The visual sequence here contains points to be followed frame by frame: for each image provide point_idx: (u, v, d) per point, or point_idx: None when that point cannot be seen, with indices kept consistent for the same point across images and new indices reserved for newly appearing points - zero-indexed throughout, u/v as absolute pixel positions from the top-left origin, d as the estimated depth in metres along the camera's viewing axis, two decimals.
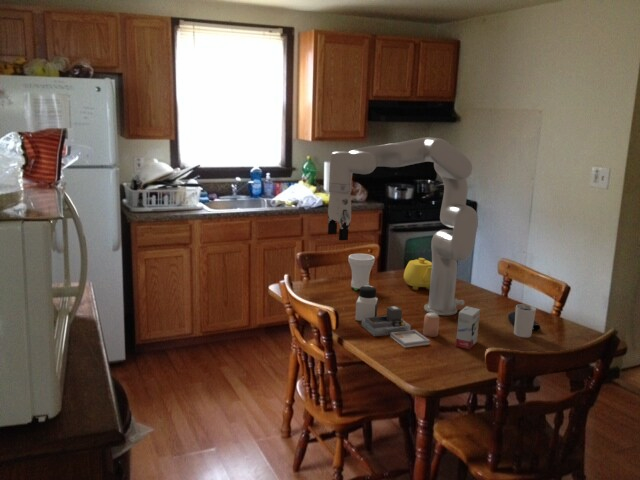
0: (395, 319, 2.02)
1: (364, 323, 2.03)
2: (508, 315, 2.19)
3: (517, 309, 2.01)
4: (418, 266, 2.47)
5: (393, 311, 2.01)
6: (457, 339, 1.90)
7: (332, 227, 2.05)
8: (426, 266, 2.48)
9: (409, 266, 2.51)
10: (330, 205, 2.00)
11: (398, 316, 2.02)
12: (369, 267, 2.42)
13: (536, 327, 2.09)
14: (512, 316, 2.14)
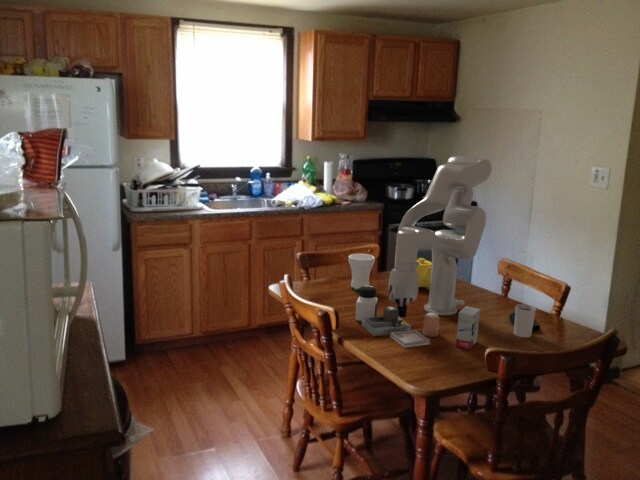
0: (392, 319, 2.01)
1: (364, 323, 2.03)
2: (509, 315, 2.19)
3: (517, 309, 2.01)
4: (418, 266, 2.47)
5: (390, 311, 2.00)
6: (457, 339, 1.90)
7: None
8: (426, 266, 2.48)
9: None
10: (402, 285, 1.99)
11: (394, 316, 2.02)
12: (369, 267, 2.42)
13: (536, 327, 2.09)
14: (513, 316, 2.15)
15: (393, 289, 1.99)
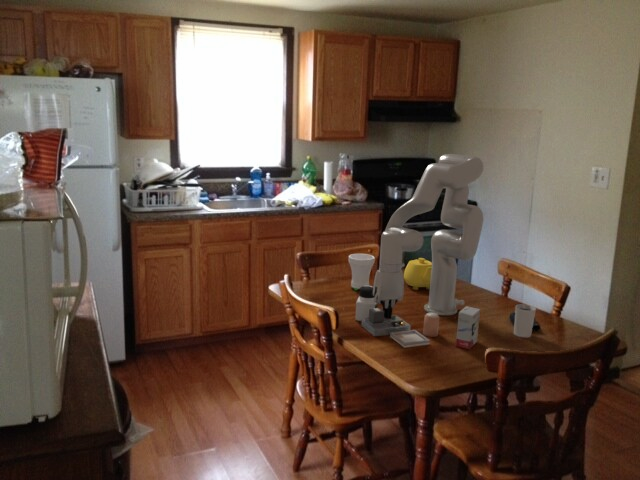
0: (377, 321, 1.99)
1: (364, 323, 2.03)
2: (510, 314, 2.19)
3: (517, 309, 2.01)
4: (418, 266, 2.47)
5: (375, 313, 1.98)
6: (457, 339, 1.90)
7: None
8: (426, 266, 2.48)
9: (409, 266, 2.51)
10: (387, 287, 1.97)
11: (380, 318, 1.99)
12: (369, 267, 2.42)
13: (536, 327, 2.09)
14: (513, 316, 2.14)
15: (378, 291, 1.97)
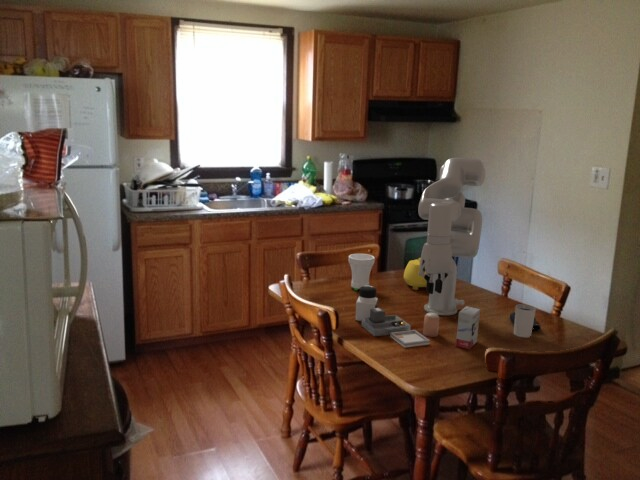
0: (378, 321, 1.99)
1: (364, 323, 2.03)
2: (510, 315, 2.19)
3: (517, 309, 2.01)
4: (418, 266, 2.47)
5: (376, 313, 1.98)
6: (457, 339, 1.90)
7: None
8: None
9: (409, 266, 2.51)
10: (435, 260, 1.91)
11: (381, 318, 2.00)
12: (369, 267, 2.42)
13: (537, 327, 2.09)
14: (513, 316, 2.15)
15: (426, 264, 1.92)
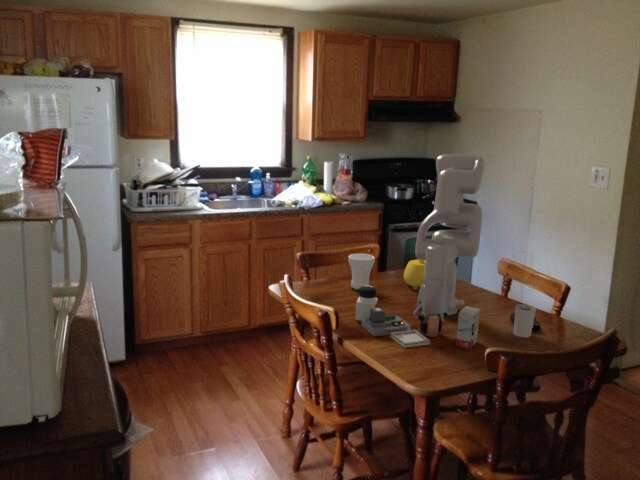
0: (378, 321, 1.99)
1: (364, 323, 2.03)
2: (510, 315, 2.19)
3: (517, 309, 2.01)
4: (418, 266, 2.47)
5: (376, 313, 1.98)
6: (457, 339, 1.90)
7: None
8: None
9: (409, 266, 2.51)
10: (432, 301, 1.95)
11: (381, 318, 2.00)
12: (369, 267, 2.42)
13: (537, 327, 2.09)
14: (513, 316, 2.15)
15: (423, 305, 1.95)
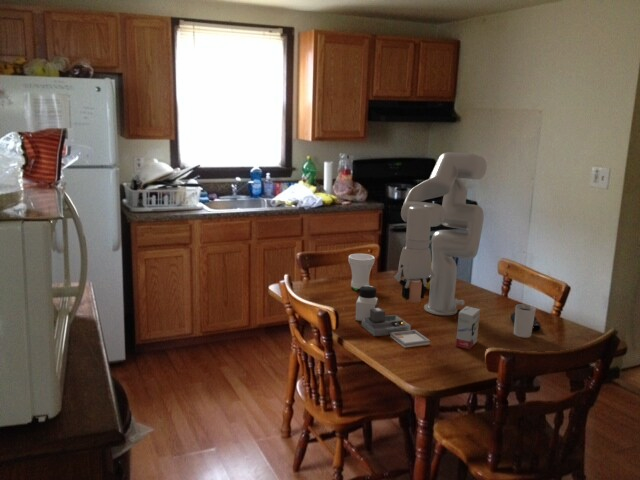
0: (378, 321, 1.99)
1: (364, 323, 2.03)
2: (511, 315, 2.19)
3: (517, 309, 2.01)
4: None
5: (376, 313, 1.98)
6: (457, 339, 1.90)
7: None
8: None
9: None
10: (414, 265, 1.85)
11: (381, 318, 2.00)
12: (369, 267, 2.42)
13: (537, 327, 2.09)
14: (514, 316, 2.15)
15: (404, 269, 1.85)
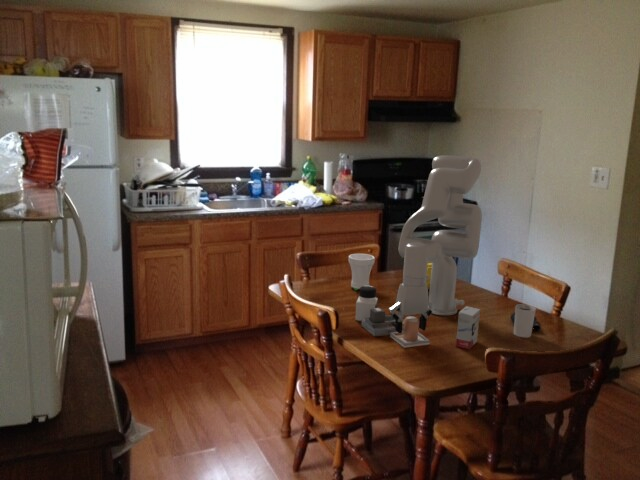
0: (378, 321, 1.99)
1: (364, 323, 2.03)
2: (511, 315, 2.19)
3: (517, 309, 2.01)
4: None
5: (376, 313, 1.98)
6: (457, 339, 1.90)
7: None
8: None
9: None
10: (411, 301, 1.88)
11: (381, 318, 2.00)
12: (369, 267, 2.42)
13: (537, 327, 2.09)
14: (514, 316, 2.15)
15: (401, 305, 1.88)
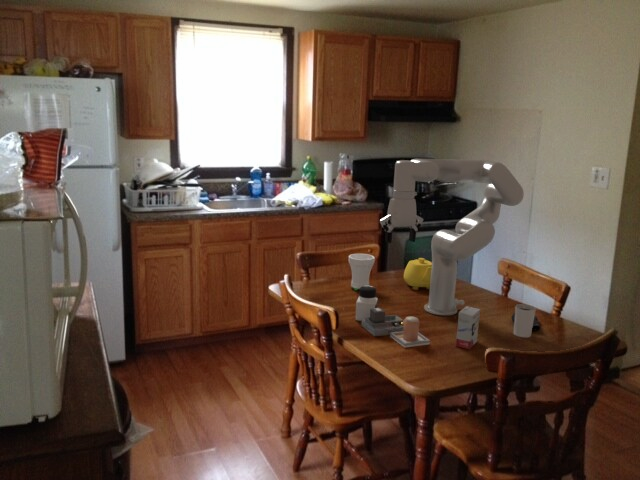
0: (378, 321, 1.99)
1: (364, 323, 2.03)
2: None
3: (517, 309, 2.01)
4: (418, 266, 2.47)
5: (376, 313, 1.98)
6: (457, 339, 1.90)
7: None
8: (426, 266, 2.48)
9: (409, 266, 2.51)
10: (400, 213, 2.06)
11: (381, 318, 2.00)
12: (369, 267, 2.42)
13: (537, 328, 2.08)
14: None
15: (392, 217, 2.06)
